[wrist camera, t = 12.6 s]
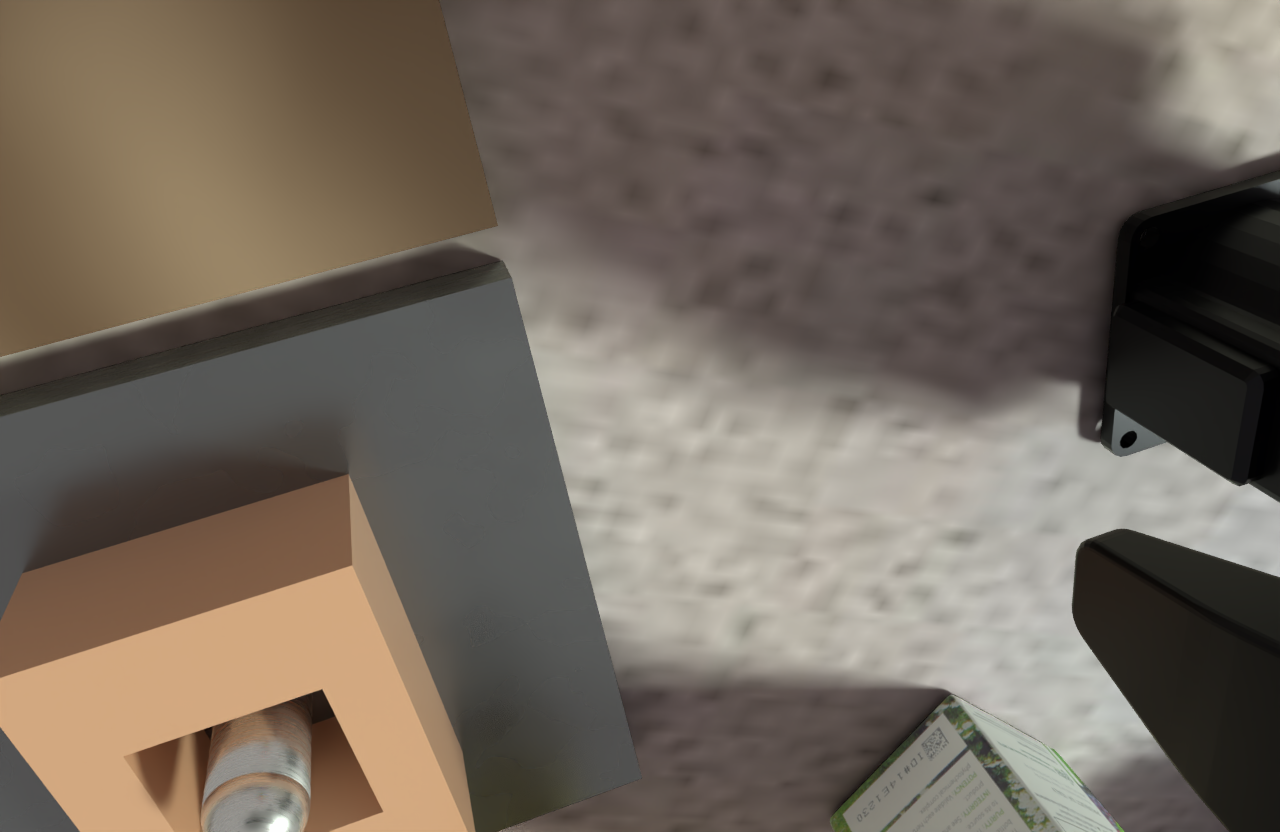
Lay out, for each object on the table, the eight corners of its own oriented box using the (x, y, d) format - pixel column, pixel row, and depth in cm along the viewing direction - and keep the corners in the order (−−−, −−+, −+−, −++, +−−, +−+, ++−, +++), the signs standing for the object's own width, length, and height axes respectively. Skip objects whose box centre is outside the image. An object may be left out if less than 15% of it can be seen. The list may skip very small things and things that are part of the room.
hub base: (502, 260, 18) (561, 378, 14) (631, 749, 25) (698, 934, 21) (-302, 477, 16) (-553, 704, 12) (85, 946, 23) (26, 1202, 19)
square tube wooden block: (348, 473, 18) (352, 564, 16) (462, 751, 22) (480, 859, 20) (21, 573, 17) (-30, 687, 15) (202, 844, 21) (185, 969, 19)
